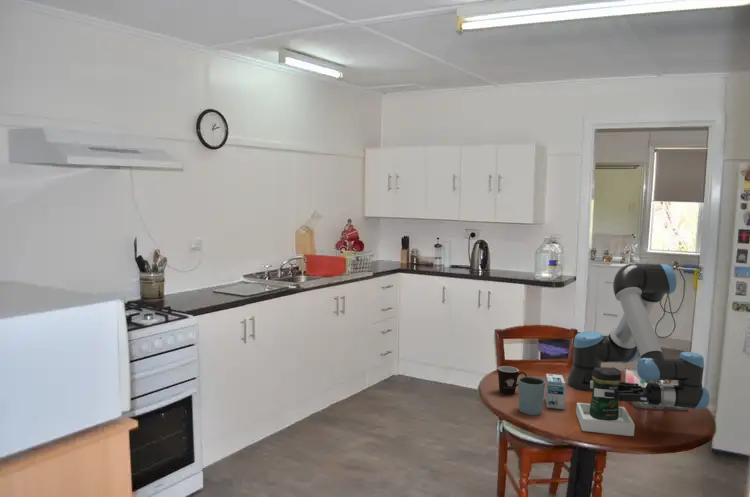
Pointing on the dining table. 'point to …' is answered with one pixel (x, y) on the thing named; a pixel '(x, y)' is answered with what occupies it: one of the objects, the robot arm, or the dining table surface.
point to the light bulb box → (555, 391)
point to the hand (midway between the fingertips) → (592, 388)
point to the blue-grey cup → (531, 395)
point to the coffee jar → (602, 405)
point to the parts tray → (605, 422)
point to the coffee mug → (508, 379)
